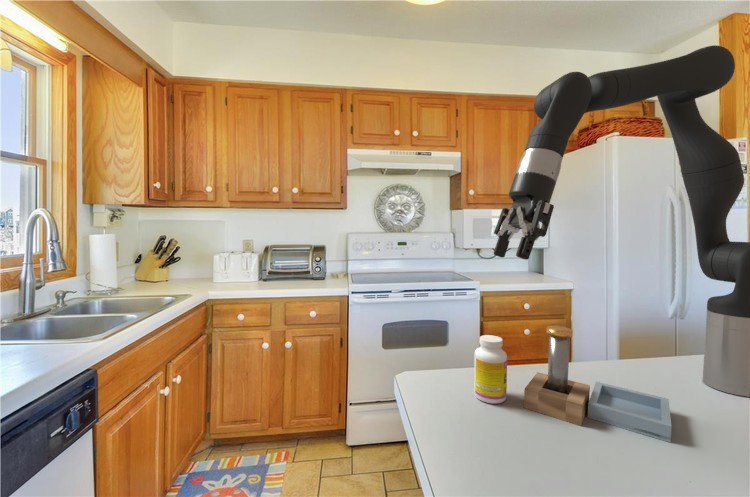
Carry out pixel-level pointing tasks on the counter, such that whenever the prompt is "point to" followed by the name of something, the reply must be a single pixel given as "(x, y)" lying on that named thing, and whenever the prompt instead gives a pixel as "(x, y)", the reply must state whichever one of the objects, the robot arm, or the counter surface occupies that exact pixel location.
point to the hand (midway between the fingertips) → (509, 257)
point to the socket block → (557, 399)
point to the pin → (558, 358)
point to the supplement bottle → (490, 370)
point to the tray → (631, 410)
